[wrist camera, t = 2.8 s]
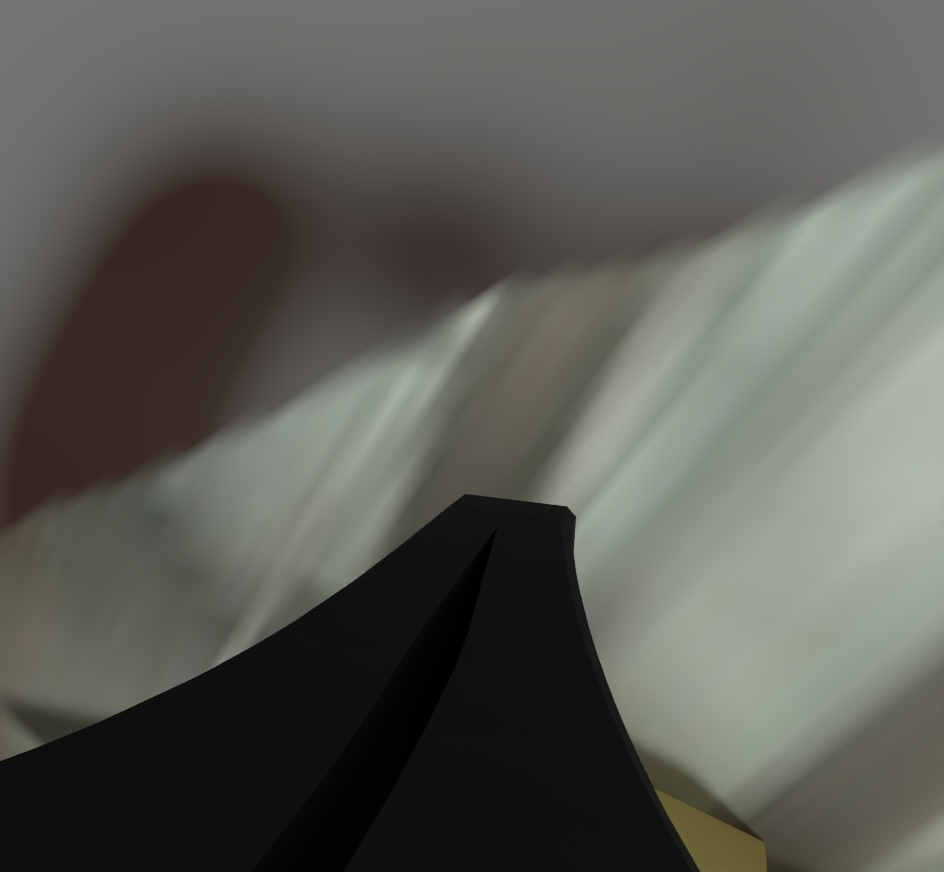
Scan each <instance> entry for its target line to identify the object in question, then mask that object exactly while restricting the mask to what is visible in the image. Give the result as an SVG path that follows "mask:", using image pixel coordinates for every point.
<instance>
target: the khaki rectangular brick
mask: <svg viewBox="0 0 944 872" xmlns="http://www.w3.org/2000/svg"><path fill="white" fill-rule="evenodd" d="M654 789H655V791H656V793H657V795H658V797H659V799H660V802H661V803H662V805H663V807H664V809H665V811H666V813H667V815H668V816H669V818H670V820H671V822H672V823H673V825H674V827H675V828H676V830H677V832H678V834H679V835H680V837H681V839H682V841H683V842H684V844H685V846H686V848H687V849H688V851H689V853H690V855H691V856H692V858H693V860H694V862H695V863H696V865H697V867H698V868H699V870H700V872H767V863H766V852H765V842H763V841H761V840H759V839H757V838H755V837H753V836H751V835H749V834H747V833H745V832H743V831H741V830H739V829H737V828H735V827H733V826H731V825H729V824H727V823H725V822H723V821H721V820H719V819H717V818H715V817H713V816H710V815H708V814H706V813H704V812H702V811H700V810H698V809H696V808H694V807H692V806H690V805H688V804H686V803H684V802H682V801H680V800H678V799H676V798H674V797H672V796H670V795H668V794H666V793H664V792H662V791H660V790H658V789H656V788H654Z"/></svg>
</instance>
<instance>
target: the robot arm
mask: <svg viewBox="0 0 944 872" xmlns="http://www.w3.org/2000/svg"><path fill="white" fill-rule="evenodd" d="M575 523H576V516H575V515H574V514H573V513H572V512H571V510H570V509H569V508H568V507H567V506H558V505H550V504H542V503H534V502H526V501H518V500H510V499H501V498H493V497H485V496H477V495H469V494H465V495H463V496H462V497H461V498H459V499H458V500H457V501H456V502H454V503H453V504H452V505H450V506H449V507H448V508H446V509H445V510H444V511H443V512H441V513H440V514H439V515H438V516H436V517H435V518H434V519H433V520H431V521H430V522H429V523H428V524H426V525H425V526H424V527H423V528H422V529H420V530H419V531H418V532H417V533H415V534H414V535H413V536H412V537H410V538H409V539H408V540H407V541H405V542H404V543H403V544H402V545H400V546H399V547H398V548H397V549H395V550H394V551H393V552H391V553H390V554H389V555H387V556H386V557H385V558H383V559H382V560H381V561H380V562H378V563H377V564H376V565H374V566H373V567H372V568H370V569H369V570H368V571H366V572H365V573H364V574H362V575H361V576H360V577H358V578H357V579H356V580H354V581H353V582H352V583H350V584H349V585H347V586H346V587H344V588H343V589H341V590H340V591H338V592H337V593H335V594H334V595H333V596H331V597H330V598H328V599H327V600H325V601H324V602H322V603H321V604H319V605H318V606H316V607H315V608H313V609H312V610H310V611H309V612H308V613H306V614H305V615H303V616H302V617H300V618H299V619H297V620H296V621H294V622H292V623H291V624H289V625H288V626H286V627H284V628H283V629H281V630H280V631H278V632H276V633H275V634H273V635H271V636H269V637H268V638H266V639H264V640H263V641H261V642H259V643H258V644H256V645H254V646H252V647H251V648H249V649H247V650H245V651H243V652H241V653H240V654H238V655H236V656H234V657H232V658H231V659H229V660H227V661H225V662H223V663H221V664H220V665H218V666H216V667H214V668H212V669H210V670H208V671H207V672H205V673H203V674H201V675H199V676H197V677H195V678H193V679H191V680H189V681H187V682H184V683H182V684H180V685H178V686H176V687H174V688H172V689H169V690H167V691H165V692H163V693H161V694H159V695H156V696H154V697H152V698H150V699H148V700H146V701H144V702H141V703H139V704H137V705H135V706H133V707H131V708H129V709H126V710H124V711H122V712H120V713H118V714H116V715H113V716H111V717H109V718H107V719H105V720H103V721H101V722H98V723H96V724H94V725H91V726H89V727H86V728H84V729H82V730H79V731H77V732H74V733H72V734H69V735H67V736H64V737H62V738H59V739H57V740H54V741H52V742H49V743H47V744H44V745H42V746H39V747H37V748H34V749H32V750H29V751H27V752H24V753H21V754H18V755H16V756H13V757H10V758H8V759H5V760H2V761H0V872H700V870H699V868H698V867H697V865H696V863H695V862H694V860H693V858H692V856H691V855H690V853H689V851H688V849H687V848H686V846H685V844H684V842H683V841H682V839H681V837H680V835H679V834H678V832H677V830H676V828H675V827H674V825H673V823H672V822H671V820H670V818H669V816H668V815H667V813H666V811H665V809H664V807H663V805H662V803H661V802H660V799H659V797H658V795H657V793H656V791H655V789H654V787H653V785H652V783H651V781H650V779H649V777H648V775H647V773H646V771H645V769H644V767H643V765H642V763H641V761H640V759H639V757H638V755H637V753H636V750H635V748H634V746H633V744H632V741H631V739H630V737H629V735H628V733H627V730H626V728H625V726H624V724H623V721H622V719H621V717H620V714H619V712H618V709H617V707H616V704H615V702H614V699H613V697H612V694H611V691H610V689H609V686H608V684H607V681H606V678H605V675H604V672H603V669H602V666H601V664H600V661H599V658H598V655H597V652H596V649H595V646H594V643H593V639H592V636H591V633H590V629H589V626H588V622H587V618H586V614H585V610H584V606H583V602H582V598H581V594H580V590H579V585H578V580H577V575H576V568H575V561H574V554H573V552H574V538H575Z"/></svg>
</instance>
